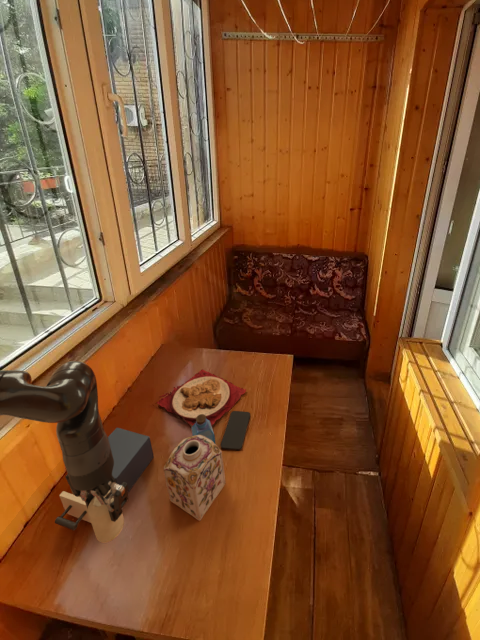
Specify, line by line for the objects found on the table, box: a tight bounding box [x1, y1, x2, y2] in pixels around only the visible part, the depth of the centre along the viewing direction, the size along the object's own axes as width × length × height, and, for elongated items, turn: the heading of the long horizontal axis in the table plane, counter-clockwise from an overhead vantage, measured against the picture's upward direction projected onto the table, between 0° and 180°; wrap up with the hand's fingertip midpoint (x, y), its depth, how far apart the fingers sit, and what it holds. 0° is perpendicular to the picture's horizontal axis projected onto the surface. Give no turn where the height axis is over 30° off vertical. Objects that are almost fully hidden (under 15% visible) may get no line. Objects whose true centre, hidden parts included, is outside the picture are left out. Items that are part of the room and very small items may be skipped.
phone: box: [220, 410, 251, 451], centre depth 110 cm, size 7×1×15 cm
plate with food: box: [156, 368, 247, 427], centre depth 123 cm, size 24×26×4 cm
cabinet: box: [107, 427, 155, 493], centre depth 95 cm, size 14×13×9 cm
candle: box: [88, 489, 125, 544], centre depth 67 cm, size 6×6×10 cm
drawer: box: [54, 486, 91, 532], centre depth 86 cm, size 17×11×7 cm
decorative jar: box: [163, 435, 226, 522], centre depth 87 cm, size 12×12×18 cm
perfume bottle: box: [191, 414, 217, 445], centre depth 103 cm, size 6×6×12 cm
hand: (105, 512), depth 67 cm, fingers closed on candle, 5 cm apart
